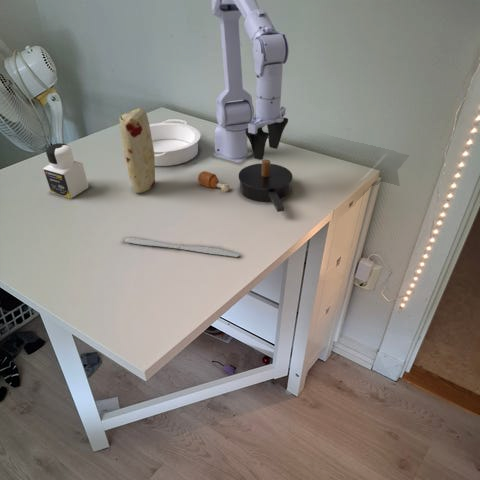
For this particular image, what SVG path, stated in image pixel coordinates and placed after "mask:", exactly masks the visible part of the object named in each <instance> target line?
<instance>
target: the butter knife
mask: <svg viewBox="0 0 480 480" xmlns="http://www.w3.org/2000/svg"><path fill="white" fill-rule="evenodd" d="M124 242H126V243H129V244H133V245H140V246H141V245H142V246H148V247H159V248H170V249H176V250H184V251H191V252H199V253H204V254H210V255H211V254H213V255H221V256H227V257H235V258H238V257H240V255H239V253H235V252H231V251H228V250H225V249H221V248H217V247H207V246H198V245H197V246H196V245H195V246H193V245H181V244H173V243H164V242H159V241H154V240H150V239H149V240H148V239H144V238H143V239H142V238H136V237H126V238H124Z"/></svg>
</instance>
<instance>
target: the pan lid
mask: <svg viewBox="0 0 480 480" xmlns="http://www.w3.org/2000/svg"><path fill="white" fill-rule="evenodd" d="M293 177H294V176H293V173H292V171H291V170H290V169H288V168H286V167H285V166H282V165H279V164H275V163H271V159H262V160H261V163H253V164H250V165H247V166H245V167H243V168H242V169H240V171H239V172H238V181H239V183H240V182H241V183H242V184H244V185H245V186H247V187H250V188H253V189H258V190H275V189H280V188H283V187H285V186H287V185H288V184H290V185H291V182H292V181H293Z"/></svg>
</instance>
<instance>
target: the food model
mask: <svg viewBox="0 0 480 480" xmlns="http://www.w3.org/2000/svg"><path fill="white" fill-rule="evenodd" d="M118 118H119V126H120V134H121V140H122V149H123V156H124V160H125V165H126V168H127V173H128V176H129V181H130V184H131V186H132V190H133V191H134V192H135V193H136V194H138V193H139V194H140V193H141V194H142V193H145V192H147V191H149V190H151V189H152V188H153V187H154V186H155V184H156V166H155V159H154V148H153V143H152V137H151V131H150V126H149V125H150V122H149V118H148V114H147V112H146V110H145V109H144V108H143V107H142V108H141V107H138V108H135V109H133V110H131V111H127V112H123V113H121V114H120V115H119V117H118Z"/></svg>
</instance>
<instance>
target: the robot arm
mask: <svg viewBox="0 0 480 480" xmlns="http://www.w3.org/2000/svg"><path fill="white" fill-rule="evenodd" d="M210 3H211V10H212V15H214V16H215V17H217V18H218V21H219V28H220V38H221V51H222V65H223V76H224V90H223V91H222V92H221V93H220V94H219V95H218V96H217V98H216V108H215V115H216V116H215V117H216V121H217V123H218V124H217V125H216V126H215V130H214V154H213V156H215V157H218V158H222V159H226V160H229V161H233V162H236V163H241V162H242V161H244V160H245V159H247V158H248V157H249V156H251V155H252V154H253V159H255V160H259V161H262V160H264V155H265V149H266V143H267V140H268V146H269V148H270V149H273V150H277V149H278V148H279V146H280V142H281V138H282V136H283V132H284V130H285V128H286V126H287V125H288V123H289V118H288V117H284V116H286V111H287V107H286V106H282V105H281V100H282V84H283V69H284V68H283V66H284V65H283V64H286V63H287V61H288V58H289V52H290V51H289V49H290V48H289V47H290V46H289V41H288V40H289V39H288V37H287V35H286V33H285V32H280V30H276V27H275V26H274V24H273V22H272V20H271V18H270V16H269V14H268V12H267V11H266V10H265V9H262V8H260V7H259V4H258V2H257V0H210ZM241 16H243V18H244V24H243V25H244V26H243V27H244V30H245V33H246V36H247V37H248V39H249V41H250V43H251V45H252V57H253V62H254V73H255V74H256V85H255V86H256V90H255V108H254V104H253V98H252V94H250V93H249V92H248V91H247V90H246V89H244V87H243V85H244V84H243V71H242V70H243V69H242V54H241V53H242V52H241V40H240V39H241V38H240V24H239V23H240V18H241ZM266 126H267V131H266V132H265V131H264V130H263V128H264V127H266ZM248 140H249V141H248ZM248 142H249V143H250V146H251V151H249V150H248Z"/></svg>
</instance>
